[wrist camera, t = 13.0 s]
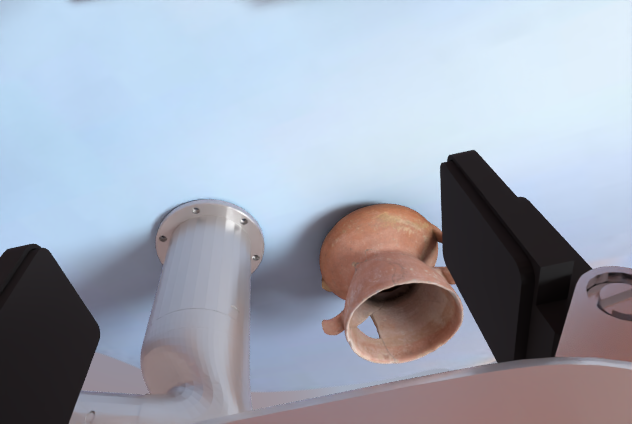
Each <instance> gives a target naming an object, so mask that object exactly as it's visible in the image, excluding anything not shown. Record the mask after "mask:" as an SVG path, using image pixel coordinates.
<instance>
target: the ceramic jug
mask: <svg viewBox="0 0 632 424" xmlns="http://www.w3.org/2000/svg"><path fill="white" fill-rule="evenodd" d="M438 242H441V243H442V232H441V231H440V229H439V228H437V227H436V226H434V225H433V224H431V223H430V222H428V221H427V220H426V219H425V218H424V217H423V216H422V215H421V214H419V213H418V212H416V211H414V210H412V209H410V208H408V207H405V206H401V205H397V204H375V205H370V206H366V207H363V208H360V209H357V210H355V211H353V212H351V213H350V214H348V215H346V216H345V217H343V218H342V219H341V220H340V221H339V222H337V223H336V225H335V226H334V227H333V228H332V229H331V231H330V232H329V233H328V234H327V236H326V237H325V239H324V242H323V244H322V247H321V251H320V270H321V274H322V288H323V289H325V290H326V291H329V292H333V293H334V294H336V295H337V296H338V297H340V298H342V299H344V300H346V301H345V308H344V310H343V311H342V312H341V313H340V314H339V315H337V316H336V317H334V318H332V319H330V320H323V321H322V327H323V330H324V332H325V333H326V334H328V335H337V334H339V333H341V332H342V331H344V330H345V335H346V339H347V341H348V342H349V344H350V347H351V348H352V350H353V351H354V352H355V353H356V354H357V355H358V356H360V357H361V358H363V359H365V360H368V361H371V362H374V363H381V364H391V363H404V362H409V361H413V360H416V359H419V358H421V357H423V356H425V355H427V354H429V353H431V352H433V351H435V350H436V349H438V348H439V347H440V346H442V345H443V344H445V343H446V342H447V341H448V340H449V339H451V338H452V337H453V336H454V334H455V333H456V332H457V331H458V329H459V327H460V326H461V324H462V321H463V306H462V303H461V300H460V298H459V297H458V295H457V294H456V292H455V291H454V289H453V288H452V287H451V286H450V285H449V284H456V283H455V281H454V280H453V278H452V276H451V274H450V272H449V270H448V268H447V267H434V266H435V263H436V260H437V255H438ZM369 316H371V318H372V320H373V322H374V324H375V326H376V328H377V332H378V334H379V338H380V339H373V338H371V337H368V336H367V335H365V334H364V333H363V332H361V331H360V330H359V329H358V328H357V326H358V325H359V324H361V323H362V322H363V321H365V320H366V319H367V318H368V317H369Z"/></svg>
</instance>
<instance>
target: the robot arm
mask: <svg viewBox="0 0 632 424" xmlns="http://www.w3.org/2000/svg"><path fill="white" fill-rule="evenodd" d="M440 178H441V211H442V244H443V257H444V261H445V264H446V266H447V268H448V270H449V272H450V274H451V276H452V278H453V280H454V281H455V283H456V285H457V287H458V289H459V291H460V293H461V295H462V297H463V298H464V300H465V302H466V304H467V306H468V308H469V310H470V312H471V314H472V315H473V317H474V319H475V321H476V323H477V325H478V327H479V329H480V331H481V332H482V334H483V336H484V338H485V340H486V342H487V344H488V346H489V347H490V349H491V351H492V353H493V355H494V357H495V359H496V361H497V362H498V363H495V364H488V365H481V366H475V367H470V368H465V369H459V370H454V371H448V372H443V373H438V374H433V375H427V376H422V377H416V378H411V379H406V380H400V381H395V382H390V383H385V384H380V385H375V386H370V387H365V388H361V389H355V390H350V391H345V392H341V393H335V394H331V395H326V396H321V397H316V398H311V399H306V400H301V401H296V402H291V403H286V404H281V405H276V406H271V407H266V408H261V409H257V410H252V402H251V393H250V298H251V274H252V273H253V272H254V271H255V270H256V269H257V267H258V266H259V264H260V262H261V261H262V257H263V254H264V236H263V233H262V230H261V228H260V226H259V224H258V223H257V221H256V220H255V219H254V218H253V217H252V216H251V215H250V214H249V213H248V212H246V211H245V210H244V209H242V208H240V207H238V206H236V205H234V204H232V203H228V202H225V201H220V200H214V199H202V200H196V201H191V202H188V203H185V204H183V205H181V206H179V207H177V208H175V209H174V210H172V211H171V212H170V213H169V214H168V215H167V216H166V217H165V218H164V220H163V221H162V222H161V224H160V227H159V229H158V232H157V235H156V251H157V255H158V257H159V259H160V261H161V263H162V264H163V268H162V272H161V276H160V280H159V283H158V287H157V291H156V295H155V299H154V302H153V306H152V310H151V314H150V317H149V321H148V325H147V329H146V333H145V337H144V340H143V344H142V349H141V358H140V359H141V370H142V375H143V378H144V381H145V384H146V386H147V389H148V391H149V393H150V394H145V395H140V394H125V393H110V392H94V391H81V388H82V386H83V383H84V380H85V378H86V375H87V372H88V370H89V367H90V364H91V361H92V358H93V356H94V353H95V350H96V348H97V345H98V342H99V339H100V329H99V326H98V324H97V322H96V321H95V319H94V318H93V316H92V315H91V313H90V312H89V310H88V309H87V307H86V306H85V304H84V303H83V301H82V300H81V298H80V297H79V295H78V294H77V292H76V291H75V289H74V288H73V286H72V284H71V283H70V281H69V280H68V278H67V277H66V275H65V274H64V272H63V271H62V269H61V268H60V266H59V265H58V263H57V262H56V260H55V259H54V257H53V256H52V254H51V253H50V252H49V250H47V249H46V248H41V247H40V246H39V245H37V244H29V245H24V246H20V247H15V248H10V249H7V250H6V251H5V252H4V253H3V254H2V256H1V257H0V424H632V269H631V268H625V267H618V266H609V267H599V268H596V269H592V268H591V267H590V266H589V265H588V264H587V263H586V262H585V260H584V259H583V258H582V257H581V256H580V255H579V254H578V253H577V252H576V251H575V250H574V249H573V248H572V247H571V245H570V244H569V243H568V242H567V241H566V240H565V239H564V238H563V237H562V236H561V235H560V234H559V233H558V231H557V230H556V229H555V228H554V227H553V226H552V225H551V224H550V223H549V222H548V221H547V220H546V219H545V218H544V216H543V215H542V214H541V213H540V212H539V211H538V210H537V209H536V208H535V207H534V206H533V205H532V204H531V202H530V201H528V200H527V199H526V198H524V197H517V196H516V195H515V194H514V193H513V192H512V191H511V189H510V188H509V187H508V186H507V185H506V184H505V183H504V182H503V181H502V180H501V178H500V177H499V176H498V175H497V174H496V173H495V172H494V171H493V170H492V168H491V167H490V166H489V165H488V164H487V163H486V162H485V161H484V160H483V158H482V157H481V156H480V155H479V154H478V153H477V152H476V151H475V150H471V151H466V152H461V153H457V154H452V155H449V156H448V159H447V162H444V163H441V166H440Z"/></svg>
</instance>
